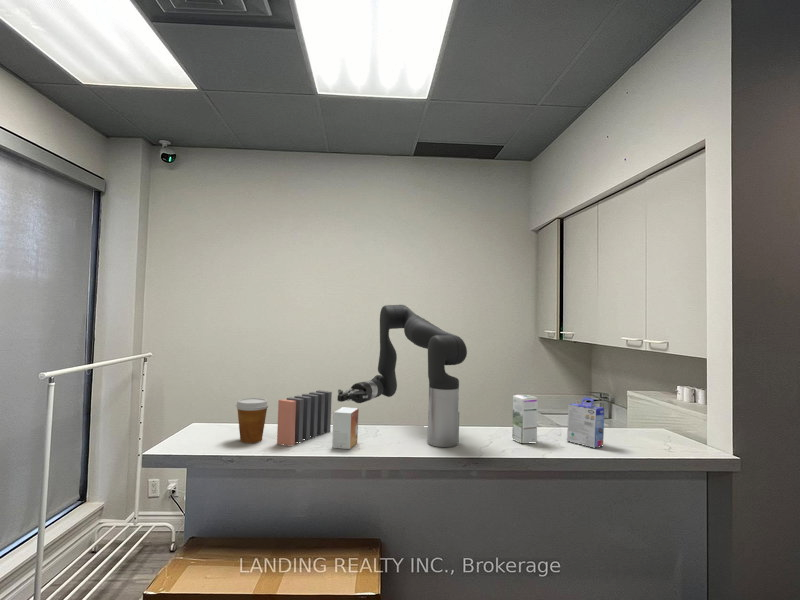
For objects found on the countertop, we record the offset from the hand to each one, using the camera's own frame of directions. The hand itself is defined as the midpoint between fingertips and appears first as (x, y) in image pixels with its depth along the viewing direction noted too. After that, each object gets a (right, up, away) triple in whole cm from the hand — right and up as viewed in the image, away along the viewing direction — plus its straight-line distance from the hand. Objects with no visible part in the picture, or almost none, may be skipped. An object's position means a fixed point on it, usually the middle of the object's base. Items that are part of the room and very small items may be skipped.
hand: (339, 398), depth 171 cm
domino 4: (-8, -9, -16) cm, 20 cm away
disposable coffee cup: (-24, -8, -23) cm, 34 cm away
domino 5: (-6, -9, -13) cm, 17 cm away
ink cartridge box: (+80, -12, -15) cm, 82 cm away
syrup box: (+61, -11, -15) cm, 63 cm away
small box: (+5, -9, -25) cm, 27 cm away
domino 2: (-11, -8, -23) cm, 27 cm away
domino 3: (-9, -8, -19) cm, 23 cm away
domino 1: (-13, -8, -26) cm, 30 cm away
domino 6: (-5, -9, -9) cm, 14 cm away
